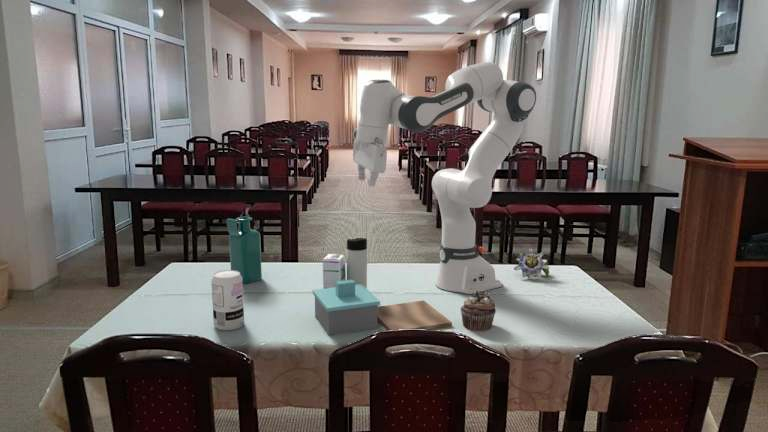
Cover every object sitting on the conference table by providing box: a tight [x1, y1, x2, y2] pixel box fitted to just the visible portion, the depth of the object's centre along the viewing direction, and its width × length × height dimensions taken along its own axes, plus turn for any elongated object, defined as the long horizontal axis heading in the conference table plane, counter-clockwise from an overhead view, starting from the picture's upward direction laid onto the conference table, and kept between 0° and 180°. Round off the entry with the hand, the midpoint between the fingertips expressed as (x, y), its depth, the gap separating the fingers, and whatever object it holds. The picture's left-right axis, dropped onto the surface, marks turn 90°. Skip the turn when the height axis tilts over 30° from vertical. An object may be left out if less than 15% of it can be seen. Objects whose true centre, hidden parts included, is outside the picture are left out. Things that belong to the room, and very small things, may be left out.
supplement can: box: [211, 269, 245, 331], centre depth 159 cm, size 8×8×15 cm
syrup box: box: [322, 253, 347, 289], centre depth 178 cm, size 6×6×14 cm
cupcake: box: [460, 291, 497, 332], centre depth 161 cm, size 10×10×10 cm
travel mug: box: [346, 237, 368, 290], centre depth 179 cm, size 6×7×20 cm
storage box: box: [314, 296, 379, 336], centre depth 163 cm, size 14×14×7 cm
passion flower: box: [513, 247, 550, 281], centre depth 205 cm, size 11×11×12 cm
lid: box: [312, 279, 381, 312], centre depth 161 cm, size 15×15×6 cm
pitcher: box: [225, 216, 263, 285], centre depth 196 cm, size 10×8×22 cm
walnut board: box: [377, 300, 453, 331], centre depth 166 cm, size 18×18×1 cm
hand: (366, 182), depth 170 cm, fingers open, 8 cm apart
